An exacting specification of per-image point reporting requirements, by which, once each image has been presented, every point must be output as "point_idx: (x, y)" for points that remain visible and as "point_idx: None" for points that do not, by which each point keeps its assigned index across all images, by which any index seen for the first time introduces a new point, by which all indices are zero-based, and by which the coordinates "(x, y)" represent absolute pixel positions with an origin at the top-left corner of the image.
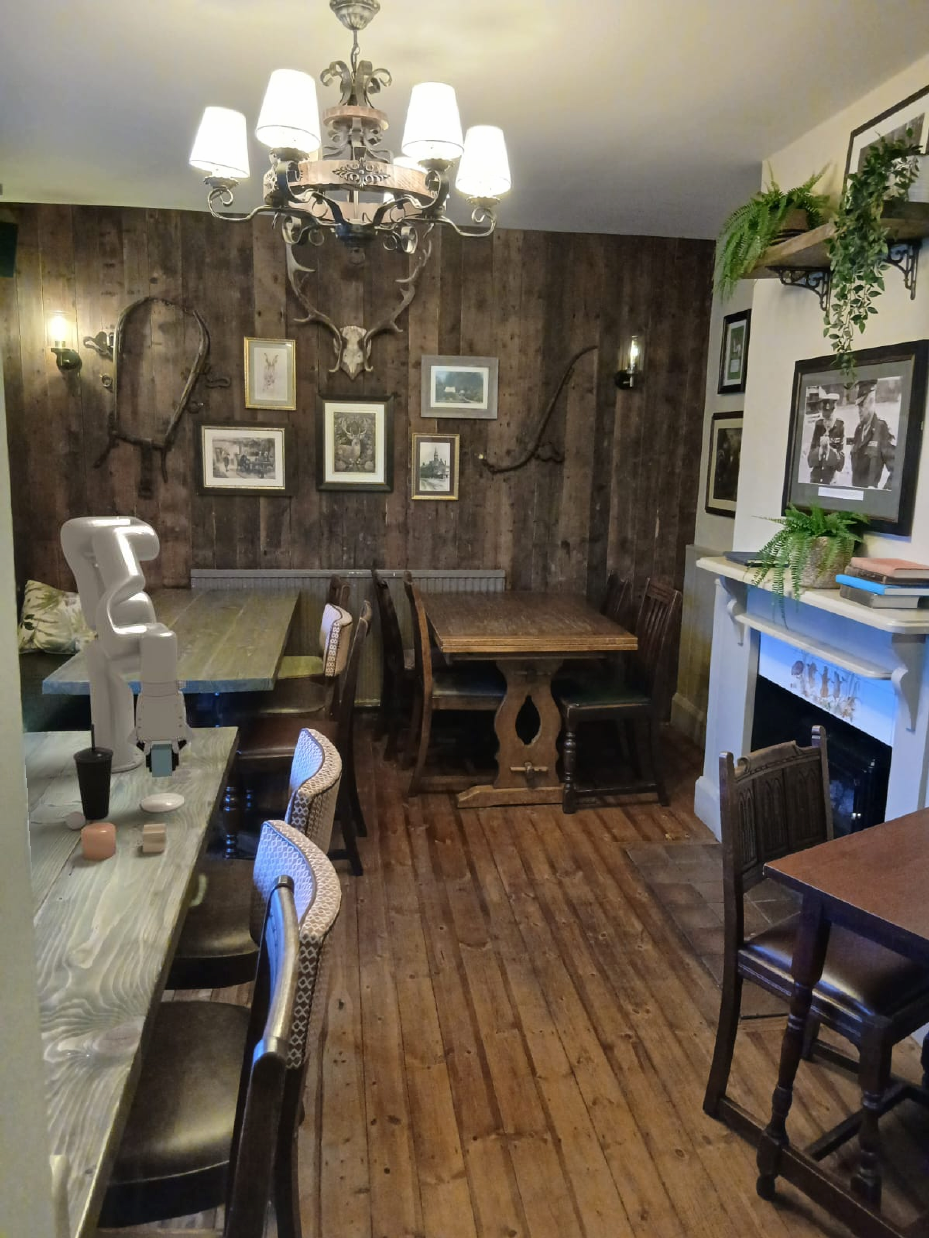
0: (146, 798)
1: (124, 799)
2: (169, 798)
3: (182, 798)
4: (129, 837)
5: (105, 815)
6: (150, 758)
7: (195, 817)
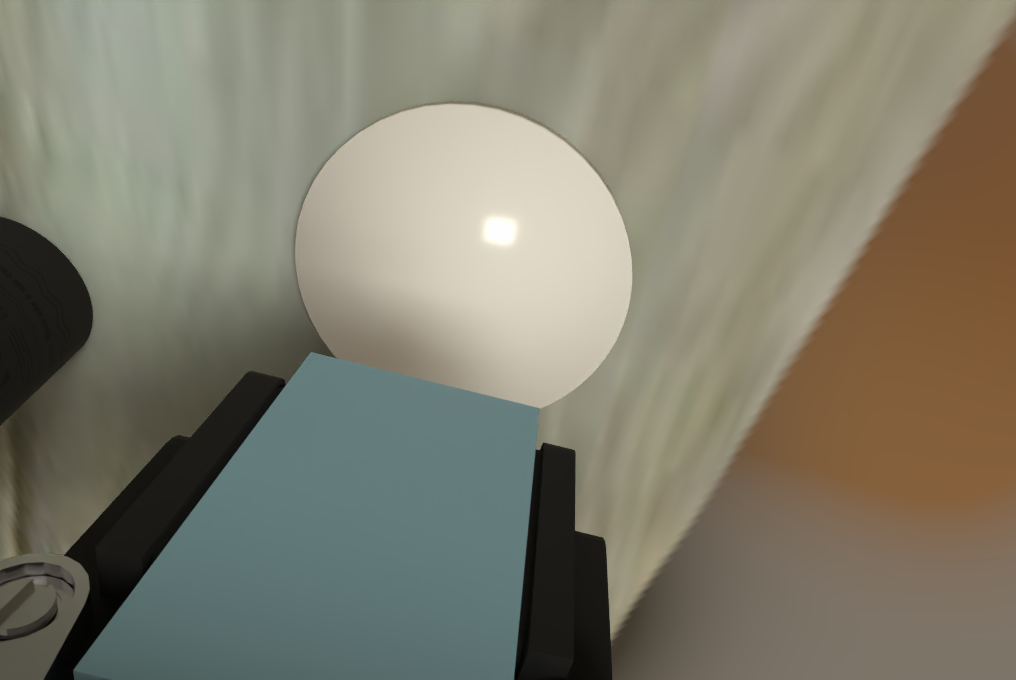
0: (336, 177)
1: (162, 57)
2: (517, 251)
3: (615, 291)
4: None
5: (75, 352)
6: None
7: (622, 542)
